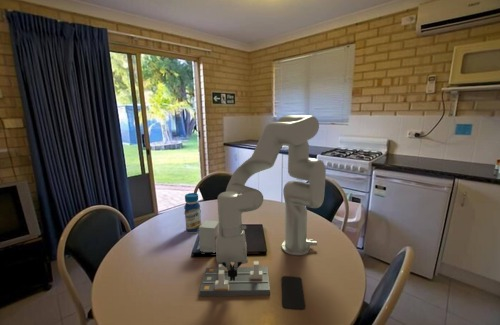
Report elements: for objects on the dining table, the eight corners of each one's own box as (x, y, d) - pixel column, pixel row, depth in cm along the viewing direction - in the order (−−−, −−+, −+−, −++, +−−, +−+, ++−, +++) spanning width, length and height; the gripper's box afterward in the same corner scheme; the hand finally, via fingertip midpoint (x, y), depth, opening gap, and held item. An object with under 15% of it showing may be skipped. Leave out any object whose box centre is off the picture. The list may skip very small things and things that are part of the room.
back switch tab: (230, 267, 93) (230, 254, 92) (230, 270, 91) (229, 257, 90) (219, 267, 93) (218, 254, 92) (218, 270, 91) (218, 257, 90)
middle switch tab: (262, 274, 89) (262, 261, 88) (262, 278, 87) (262, 264, 86) (250, 275, 89) (250, 261, 88) (250, 278, 87) (250, 264, 86)
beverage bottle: (203, 226, 133) (201, 192, 129) (199, 234, 124) (196, 197, 120) (189, 226, 134) (186, 192, 130) (183, 233, 125) (180, 197, 121)
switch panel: (267, 271, 94) (267, 266, 94) (270, 294, 82) (270, 289, 82) (206, 272, 94) (206, 267, 94) (199, 296, 82) (199, 290, 82)
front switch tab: (228, 284, 84) (227, 270, 83) (228, 288, 82) (227, 273, 81) (215, 284, 84) (215, 270, 83) (215, 288, 82) (214, 274, 81)
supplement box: (215, 254, 106) (214, 228, 103) (199, 253, 108) (198, 227, 105) (220, 246, 113) (219, 221, 111) (206, 244, 115) (204, 219, 112)
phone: (281, 307, 76) (281, 275, 91) (281, 309, 76) (281, 277, 91) (305, 309, 75) (301, 277, 90) (305, 311, 76) (301, 278, 90)
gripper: (253, 223, 83) (254, 270, 87) (209, 224, 83) (212, 271, 87) (253, 234, 75) (254, 285, 79) (205, 235, 76) (209, 286, 79)
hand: (232, 277), depth 83 cm, fingers closed
